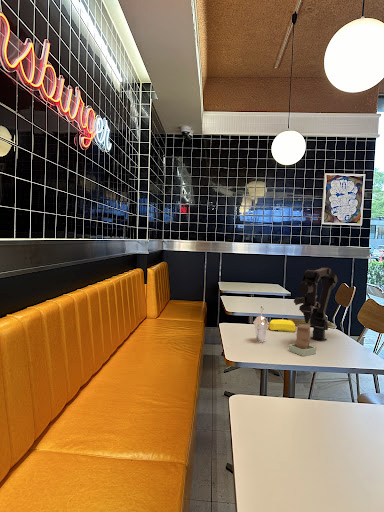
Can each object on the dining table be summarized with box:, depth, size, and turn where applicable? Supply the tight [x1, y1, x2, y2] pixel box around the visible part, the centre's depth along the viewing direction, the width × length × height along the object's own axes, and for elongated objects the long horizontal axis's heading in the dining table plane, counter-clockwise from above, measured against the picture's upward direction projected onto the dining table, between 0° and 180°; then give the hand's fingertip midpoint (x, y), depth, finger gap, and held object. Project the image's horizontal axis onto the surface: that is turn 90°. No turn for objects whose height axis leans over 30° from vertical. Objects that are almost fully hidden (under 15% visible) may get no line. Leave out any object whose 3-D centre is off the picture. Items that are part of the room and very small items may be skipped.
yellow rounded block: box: [267, 318, 297, 333], centre depth 213 cm, size 18×7×8 cm
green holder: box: [288, 343, 317, 357], centre depth 171 cm, size 9×9×3 cm
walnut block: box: [295, 324, 311, 350], centre depth 171 cm, size 5×5×13 cm
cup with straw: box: [252, 306, 270, 343], centre depth 186 cm, size 8×9×20 cm
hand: (309, 321), depth 186 cm, fingers open, 9 cm apart
